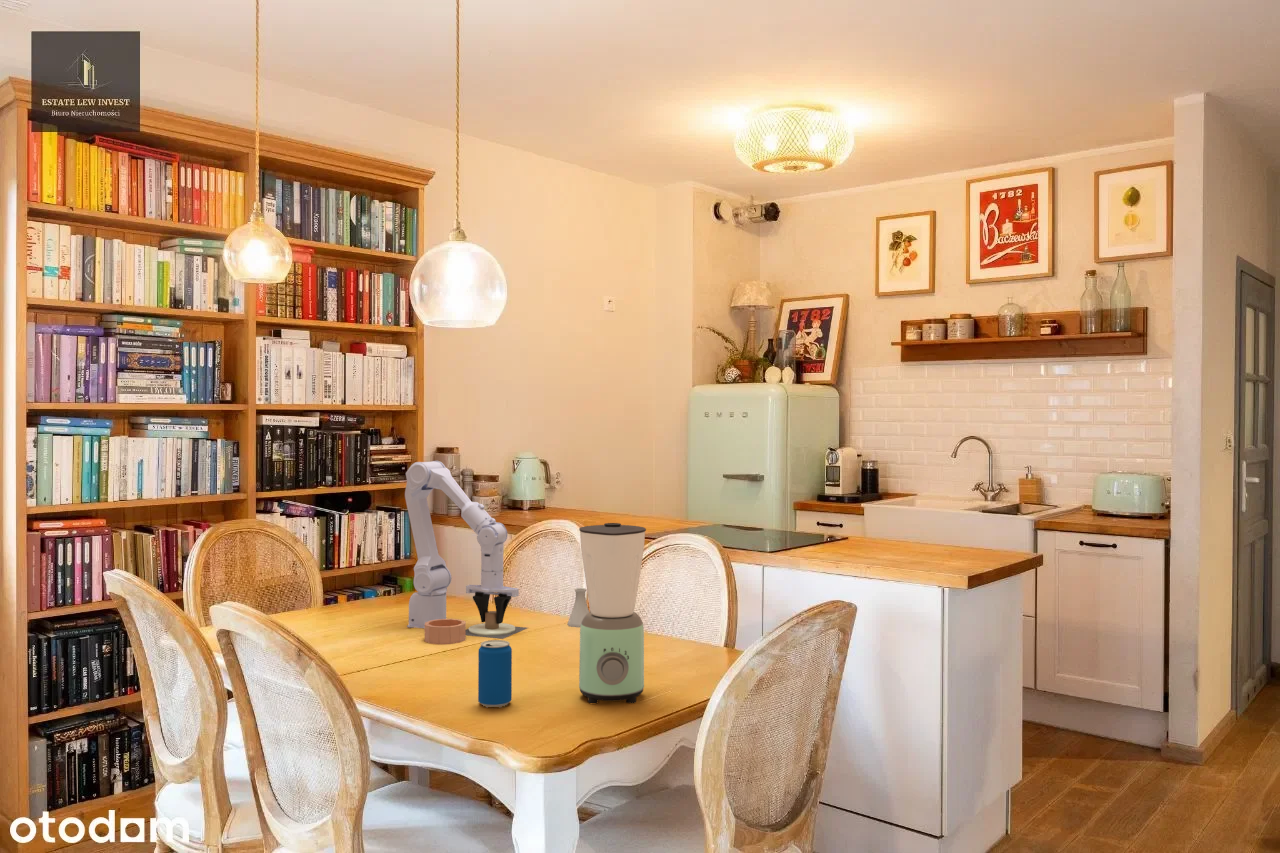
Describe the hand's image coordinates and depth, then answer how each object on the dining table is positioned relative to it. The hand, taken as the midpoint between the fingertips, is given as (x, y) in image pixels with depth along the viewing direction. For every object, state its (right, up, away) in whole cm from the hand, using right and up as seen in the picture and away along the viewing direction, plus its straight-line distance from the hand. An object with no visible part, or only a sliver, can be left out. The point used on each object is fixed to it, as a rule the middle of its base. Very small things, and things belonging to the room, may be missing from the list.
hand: (492, 622), depth 259 cm
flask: (+23, -3, +9) cm, 24 cm away
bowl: (-10, -3, -10) cm, 15 cm away
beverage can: (+10, -4, -64) cm, 65 cm away
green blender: (+33, -4, -57) cm, 66 cm away
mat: (0, -3, 0) cm, 3 cm away
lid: (0, -2, 0) cm, 2 cm away
